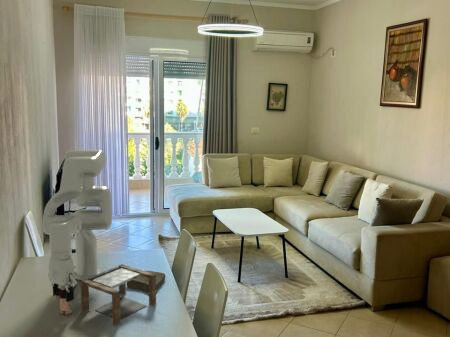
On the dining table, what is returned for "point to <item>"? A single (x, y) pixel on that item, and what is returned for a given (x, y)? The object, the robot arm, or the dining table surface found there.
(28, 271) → the dining table surface
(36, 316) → the dining table surface
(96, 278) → the trapdoor plate
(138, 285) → the marble piece
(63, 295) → the grandmother figurine
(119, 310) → the frame
